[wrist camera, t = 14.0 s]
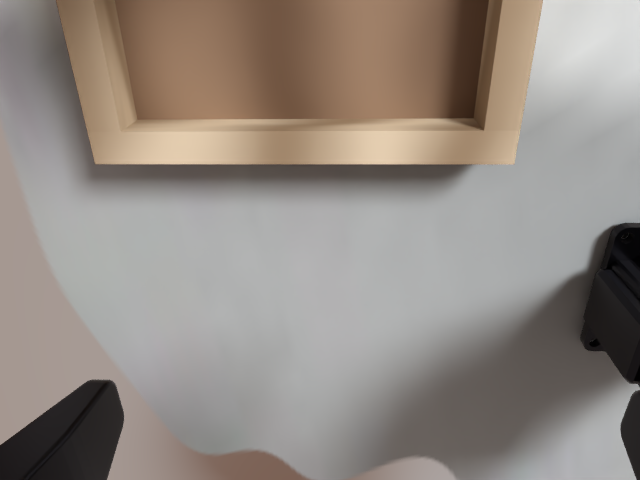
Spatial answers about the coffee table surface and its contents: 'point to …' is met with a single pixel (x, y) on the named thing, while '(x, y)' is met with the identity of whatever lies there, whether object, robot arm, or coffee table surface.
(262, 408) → the coffee table surface
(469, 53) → the keyhole board
